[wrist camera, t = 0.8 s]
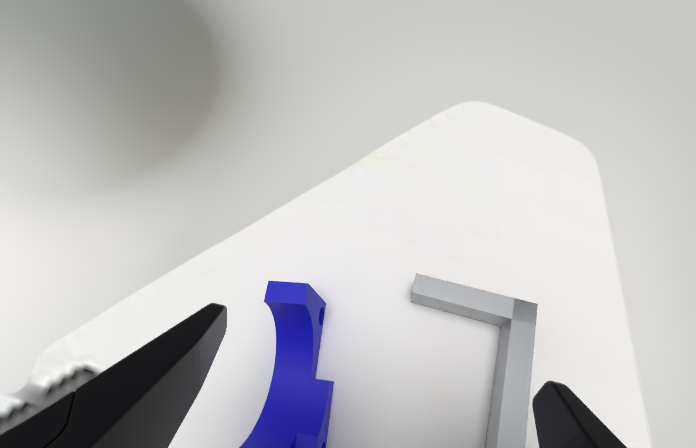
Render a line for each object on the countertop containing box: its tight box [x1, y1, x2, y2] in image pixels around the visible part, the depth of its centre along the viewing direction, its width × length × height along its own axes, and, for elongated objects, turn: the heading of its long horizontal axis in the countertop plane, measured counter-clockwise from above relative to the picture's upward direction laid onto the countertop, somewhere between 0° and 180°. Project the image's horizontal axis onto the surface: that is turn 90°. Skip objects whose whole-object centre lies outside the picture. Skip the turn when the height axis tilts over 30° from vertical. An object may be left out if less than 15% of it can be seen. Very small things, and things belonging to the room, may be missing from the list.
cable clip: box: [239, 281, 334, 448], centre depth 24 cm, size 12×4×6 cm, turn 173°
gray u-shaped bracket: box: [411, 274, 537, 448], centre depth 22 cm, size 19×8×3 cm, turn 162°
